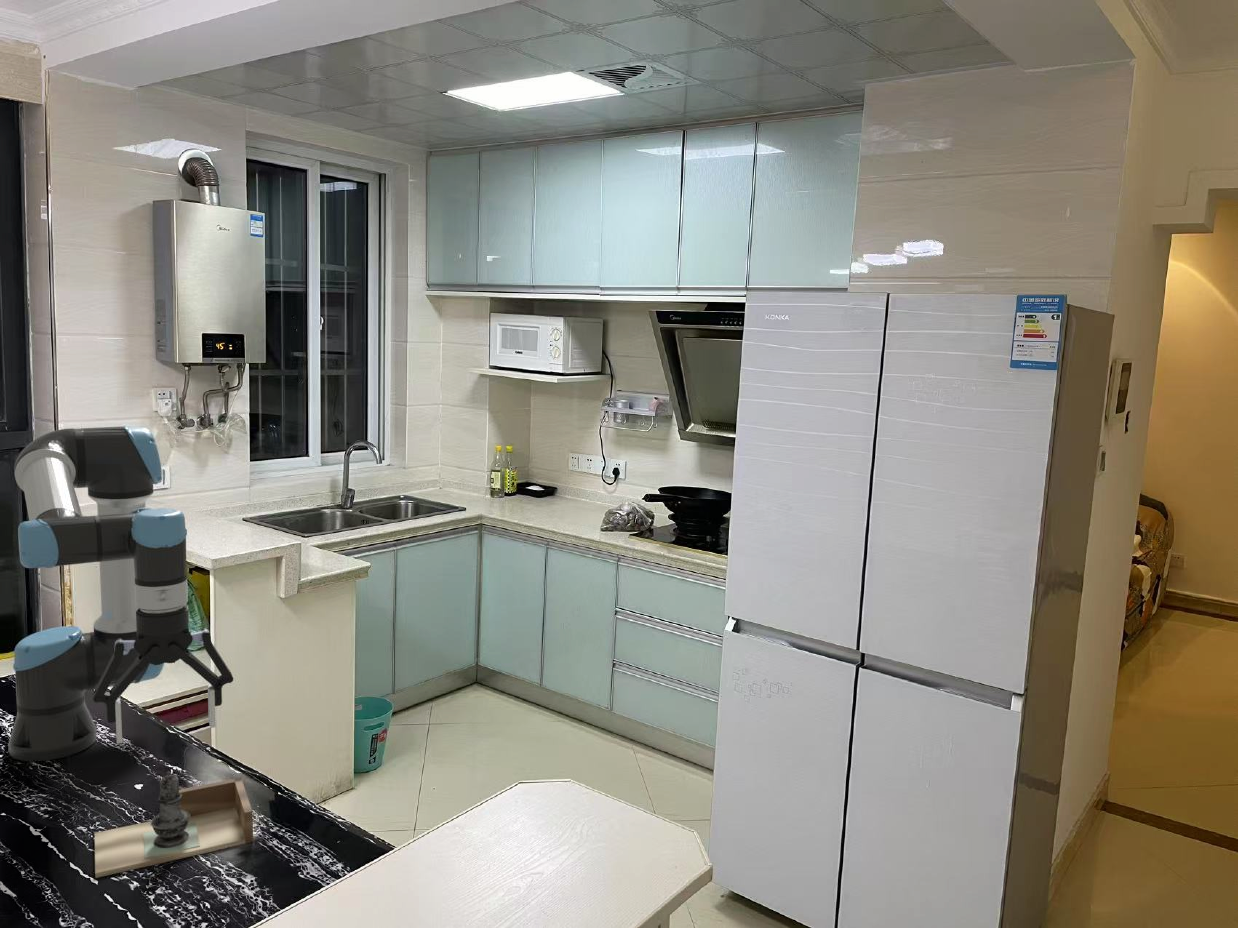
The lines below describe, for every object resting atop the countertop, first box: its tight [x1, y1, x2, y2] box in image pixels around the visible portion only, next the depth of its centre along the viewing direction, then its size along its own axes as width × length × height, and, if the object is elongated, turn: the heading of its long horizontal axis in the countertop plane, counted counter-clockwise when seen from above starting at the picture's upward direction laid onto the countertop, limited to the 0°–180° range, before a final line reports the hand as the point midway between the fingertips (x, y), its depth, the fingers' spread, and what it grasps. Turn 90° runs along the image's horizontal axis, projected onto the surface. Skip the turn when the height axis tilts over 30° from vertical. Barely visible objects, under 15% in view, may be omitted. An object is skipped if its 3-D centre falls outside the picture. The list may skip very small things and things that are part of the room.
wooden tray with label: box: [94, 777, 254, 879], centre depth 154 cm, size 13×23×6 cm, turn 120°
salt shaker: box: [150, 770, 190, 848], centre depth 152 cm, size 6×6×12 cm
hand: (166, 732), depth 150 cm, fingers open, 13 cm apart
